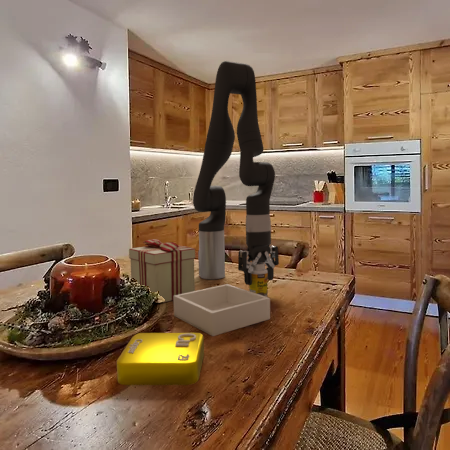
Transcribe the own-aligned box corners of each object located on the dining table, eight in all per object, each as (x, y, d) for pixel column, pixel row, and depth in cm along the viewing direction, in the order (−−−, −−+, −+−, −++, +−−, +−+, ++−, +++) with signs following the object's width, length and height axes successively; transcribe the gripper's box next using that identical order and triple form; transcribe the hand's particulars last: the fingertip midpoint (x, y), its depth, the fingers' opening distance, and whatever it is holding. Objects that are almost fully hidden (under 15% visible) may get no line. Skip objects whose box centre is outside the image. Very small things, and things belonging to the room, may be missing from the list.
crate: (174, 315, 109) (173, 295, 108) (227, 302, 119) (227, 283, 119) (212, 336, 94) (212, 313, 94) (270, 318, 105) (269, 298, 104)
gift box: (205, 292, 130) (203, 238, 128) (159, 306, 117) (157, 247, 115) (170, 283, 142) (168, 234, 140) (125, 295, 128) (122, 241, 126)
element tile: (135, 351, 88) (134, 330, 87) (205, 351, 87) (204, 329, 87) (114, 387, 73) (113, 361, 72) (197, 387, 72) (197, 361, 72)
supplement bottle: (257, 299, 121) (256, 266, 120) (245, 295, 126) (245, 262, 124) (271, 296, 124) (271, 263, 123) (260, 292, 129) (259, 260, 128)
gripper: (267, 226, 130) (268, 276, 131) (231, 230, 121) (233, 283, 123) (284, 228, 124) (284, 280, 125) (248, 232, 115) (249, 288, 117)
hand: (259, 282), depth 124 cm, fingers open, 8 cm apart
